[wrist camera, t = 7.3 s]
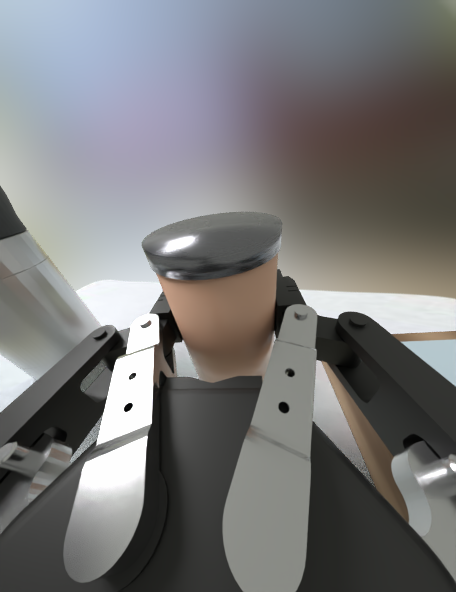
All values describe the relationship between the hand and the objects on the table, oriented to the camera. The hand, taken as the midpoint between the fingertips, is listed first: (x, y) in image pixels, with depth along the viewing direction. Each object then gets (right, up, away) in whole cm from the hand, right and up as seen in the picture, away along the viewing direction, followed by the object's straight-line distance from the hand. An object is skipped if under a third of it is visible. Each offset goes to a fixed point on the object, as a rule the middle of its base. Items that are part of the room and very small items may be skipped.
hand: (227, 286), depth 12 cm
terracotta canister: (+1, -7, +2) cm, 7 cm away
